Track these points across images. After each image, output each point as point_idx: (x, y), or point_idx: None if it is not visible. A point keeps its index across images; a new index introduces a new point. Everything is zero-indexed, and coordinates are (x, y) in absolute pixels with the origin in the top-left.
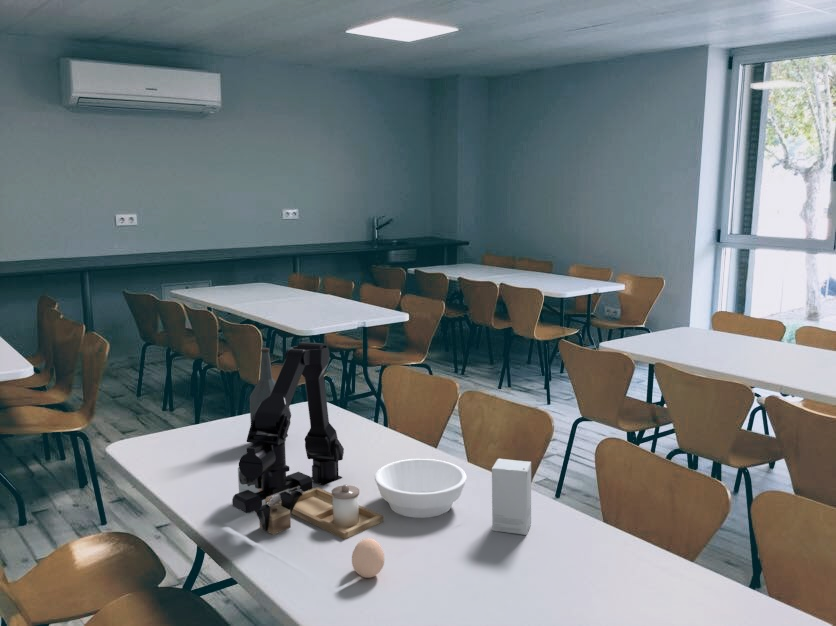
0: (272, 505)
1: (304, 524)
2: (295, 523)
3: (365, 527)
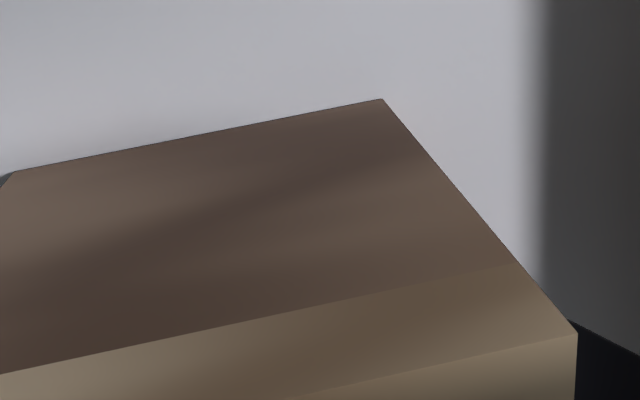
0: (368, 384)
1: (630, 317)
2: (575, 237)
3: None
